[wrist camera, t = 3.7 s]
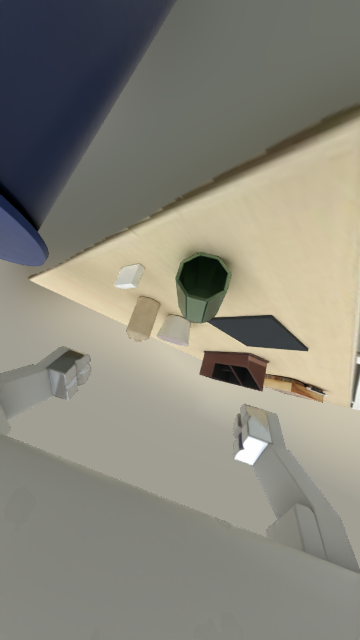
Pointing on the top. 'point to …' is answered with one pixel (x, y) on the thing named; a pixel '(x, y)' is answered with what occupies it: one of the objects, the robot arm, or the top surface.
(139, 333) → the candle
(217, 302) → the bucket
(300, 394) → the wooden box
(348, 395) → the top surface
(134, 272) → the eraser
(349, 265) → the top surface
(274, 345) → the mat
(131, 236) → the top surface
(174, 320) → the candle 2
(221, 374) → the desk organizer
